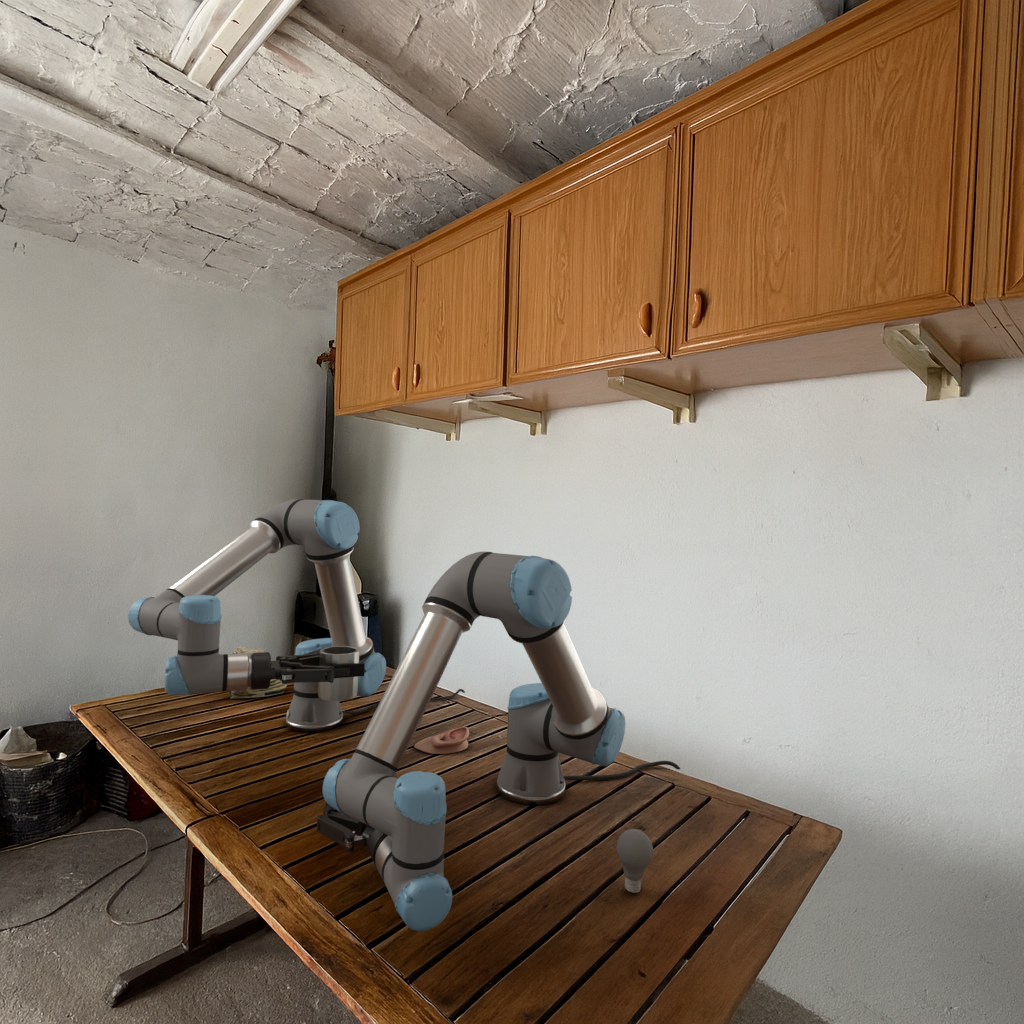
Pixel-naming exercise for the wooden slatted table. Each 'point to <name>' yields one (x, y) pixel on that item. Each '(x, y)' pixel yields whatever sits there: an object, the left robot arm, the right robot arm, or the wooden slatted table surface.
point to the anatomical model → (445, 742)
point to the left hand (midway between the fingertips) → (359, 664)
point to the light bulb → (634, 857)
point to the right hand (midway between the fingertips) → (364, 794)
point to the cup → (340, 686)
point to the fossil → (274, 689)
